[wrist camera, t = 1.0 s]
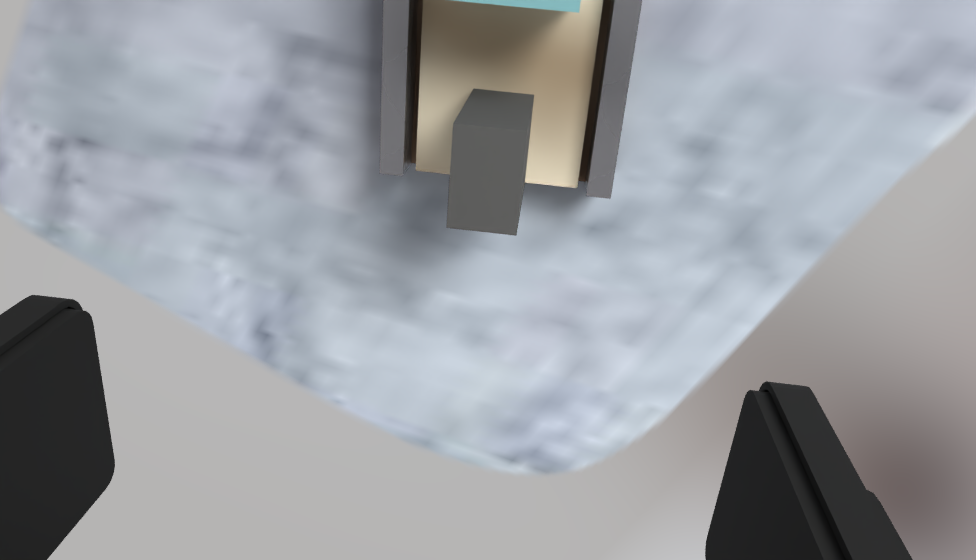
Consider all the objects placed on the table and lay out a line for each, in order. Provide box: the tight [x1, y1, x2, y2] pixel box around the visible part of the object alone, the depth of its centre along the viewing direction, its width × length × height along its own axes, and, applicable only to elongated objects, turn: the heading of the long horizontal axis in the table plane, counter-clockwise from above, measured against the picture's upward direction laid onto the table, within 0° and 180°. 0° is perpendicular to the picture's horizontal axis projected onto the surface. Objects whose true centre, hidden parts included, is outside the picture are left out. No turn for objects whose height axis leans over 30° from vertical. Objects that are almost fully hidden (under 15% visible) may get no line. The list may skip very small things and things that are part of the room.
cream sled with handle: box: [416, 0, 603, 235], centre depth 22 cm, size 10×6×6 cm, turn 175°
